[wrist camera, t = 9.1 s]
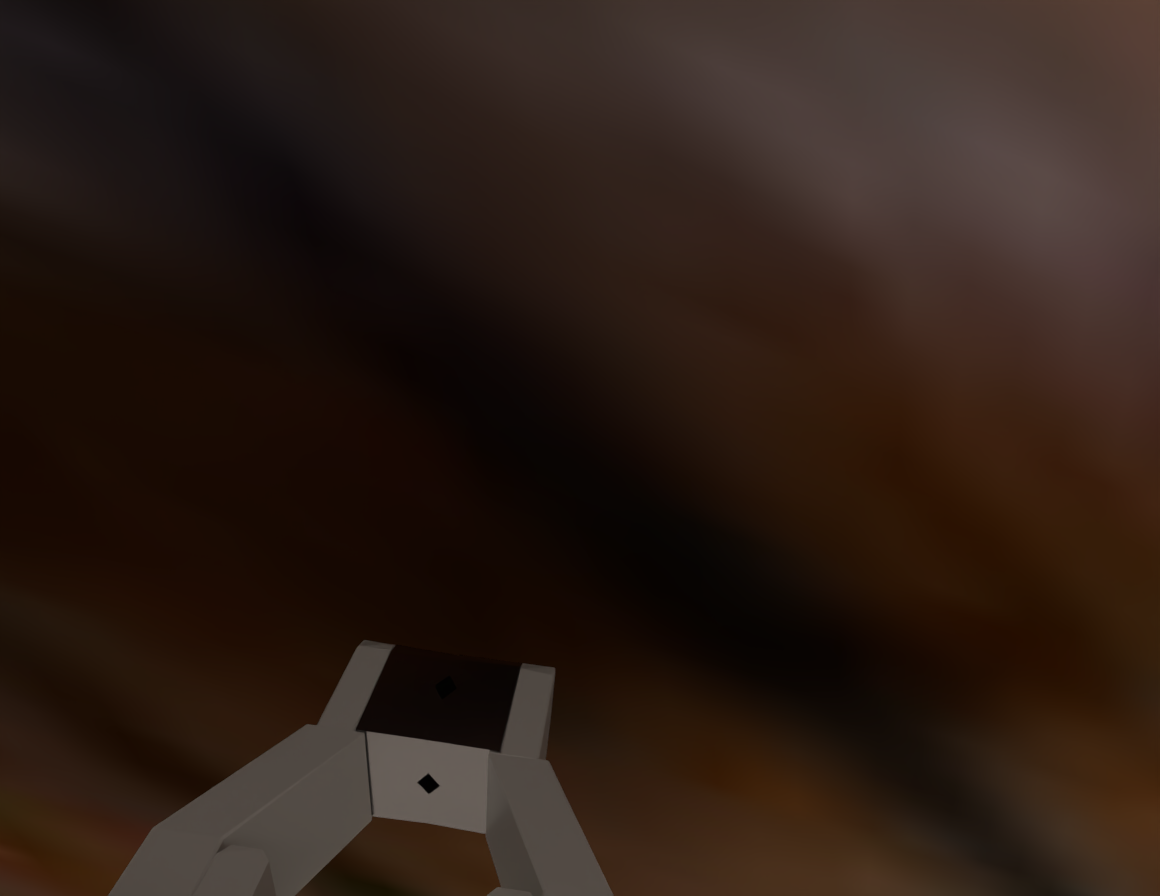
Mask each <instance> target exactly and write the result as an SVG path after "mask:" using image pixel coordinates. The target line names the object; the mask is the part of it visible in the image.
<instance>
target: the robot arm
mask: <svg viewBox="0 0 1160 896" xmlns="http://www.w3.org/2000/svg"><path fill="white" fill-rule="evenodd" d="M554 681H555V668H554V667H547V666H540V665H532V664H525V663H523V664H522V663H520V662H512V661H504V660H497V659H489V658H482V657H474V656H467V655H454V654H449V653H443V652H437V651H431V650H425V649H419V648H414V647H408V646H402V645H393V644H387V643H381V642H375V641H369V640H364V641H363V642H362V643H361V644H360V645H359V646H358V647H357V648H356V650H355V652H354V654H353V656H352V658H351V660H350V661H349V663H348V665H347V667H346V669H345V671H344V673H343V675H342V677H341V679H340V681H339V683H338V685H337V687H336V689H335V691H334V693H333V695H332V696H331V698H330V700H329V702H328V704H327V706H326V708H325V710H324V712H323V714H322V716H321V718H320V720H319V722H318V724H317V725H310V724H306V725H305V726H303V727H302V728H300V729H299V730H297V731H296V732H295V733H293V734H292V735H290V736H289V737H287V738H286V739H284V740H283V741H281V742H280V743H278V744H277V745H275V746H274V747H272V748H271V749H269V750H268V751H266V752H265V753H263V754H262V755H260V756H259V757H257V758H256V759H254V760H253V761H251V762H250V763H248V764H247V765H246V766H244V767H243V768H241V769H240V770H238V771H237V772H235V773H234V774H232V775H231V776H229V777H228V778H226V779H225V780H223V781H222V782H220V783H219V784H217V785H216V786H214V787H213V788H211V789H210V790H208V791H207V792H205V793H204V794H202V795H201V796H199V797H198V798H196V799H195V800H194V801H192V802H191V803H189V804H188V805H186V806H185V807H183V808H182V809H180V810H179V811H177V812H176V813H174V814H173V815H171V816H170V817H168V818H167V819H165V820H164V821H162V822H161V823H159V824H158V825H156V826H155V827H153V828H152V830H151V831H150V833H149V834H148V836H147V837H146V839H145V840H144V842H143V843H142V845H141V846H140V848H139V849H138V851H137V852H136V854H135V855H134V857H133V858H132V860H131V861H130V863H129V865H128V866H127V868H126V869H125V871H124V872H123V874H122V875H121V877H120V878H119V880H118V881H117V883H116V884H115V886H114V887H113V889H112V890H111V892H110V893H109V895H108V896H295V895H296V894H297V893H298V892H299V891H300V890H301V889H302V888H303V887H304V886H305V885H306V884H307V883H308V882H309V881H310V880H311V879H312V878H313V877H314V876H315V875H316V874H317V873H318V872H319V871H320V870H321V869H322V868H323V867H324V866H325V865H326V864H327V863H328V862H330V861H331V860H332V859H333V858H334V857H335V856H336V855H337V854H338V853H339V852H340V851H341V850H342V849H343V848H344V847H345V846H346V845H347V844H348V843H349V842H350V841H351V840H352V839H353V838H354V837H355V836H356V835H357V834H358V833H359V832H360V831H361V830H362V829H363V828H364V827H365V826H366V825H367V824H368V823H369V822H370V821H371V820H372V816H375V817H383V818H391V819H398V820H406V821H414V822H422V823H430V824H435V825H440V826H446V827H451V828H457V829H462V830H467V831H473V832H478V833H483V834H486V840H487V843H488V846H489V849H490V853H491V856H492V859H493V862H494V865H495V868H496V872H497V875H498V878H499V881H500V884H501V888H499V887H497V888H496V889H495V890H493V891H492V892H491V893H489V894H488V895H487V896H613V894H612V891H611V889H610V887H609V885H608V883H607V881H606V879H605V877H604V875H603V873H602V871H601V869H600V866H599V864H598V862H597V860H596V858H595V856H594V854H593V852H592V850H591V848H590V846H589V844H588V841H587V839H586V837H585V835H584V833H583V831H582V829H581V827H580V825H579V823H578V821H577V819H576V817H575V814H574V812H573V810H572V808H571V806H570V804H569V802H568V800H567V798H566V796H565V794H564V792H563V789H562V787H561V785H560V783H559V781H558V779H557V777H556V775H555V773H554V771H553V769H552V767H551V764H550V762H549V761H547V760H545V759H546V753H547V744H548V736H549V728H550V720H551V710H552V701H553V691H554Z"/></svg>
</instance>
